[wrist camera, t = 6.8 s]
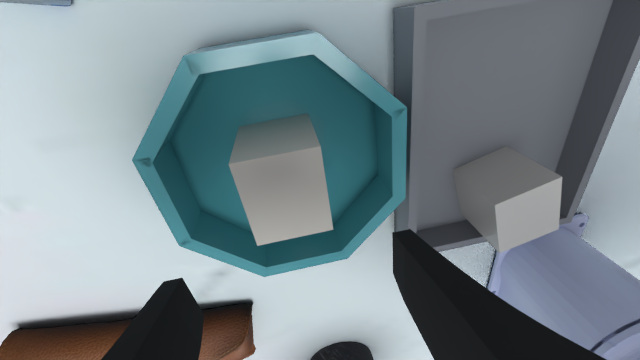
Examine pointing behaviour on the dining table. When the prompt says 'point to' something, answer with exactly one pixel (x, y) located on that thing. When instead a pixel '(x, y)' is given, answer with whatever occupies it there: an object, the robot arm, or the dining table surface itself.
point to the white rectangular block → (281, 179)
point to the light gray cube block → (509, 198)
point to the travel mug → (344, 352)
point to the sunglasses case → (97, 338)
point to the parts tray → (506, 95)
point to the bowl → (264, 105)
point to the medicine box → (41, 2)
